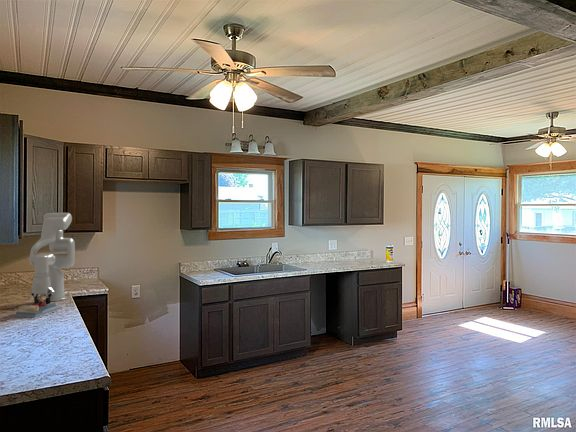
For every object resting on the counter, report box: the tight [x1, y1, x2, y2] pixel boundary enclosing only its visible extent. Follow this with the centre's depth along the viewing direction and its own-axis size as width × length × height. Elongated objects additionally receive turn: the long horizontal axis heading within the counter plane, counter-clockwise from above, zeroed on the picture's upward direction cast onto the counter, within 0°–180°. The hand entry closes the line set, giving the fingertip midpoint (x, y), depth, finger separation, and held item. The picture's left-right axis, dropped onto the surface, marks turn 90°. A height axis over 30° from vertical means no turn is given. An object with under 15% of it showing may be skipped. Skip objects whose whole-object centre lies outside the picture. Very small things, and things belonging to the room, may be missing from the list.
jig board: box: [14, 301, 63, 318], centre depth 266 cm, size 23×14×4 cm, turn 171°
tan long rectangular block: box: [18, 304, 39, 313], centre depth 258 cm, size 4×10×4 cm, turn 81°
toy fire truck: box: [31, 292, 51, 307], centre depth 268 cm, size 3×14×10 cm, turn 169°
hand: (42, 303), depth 269 cm, fingers open, 7 cm apart
